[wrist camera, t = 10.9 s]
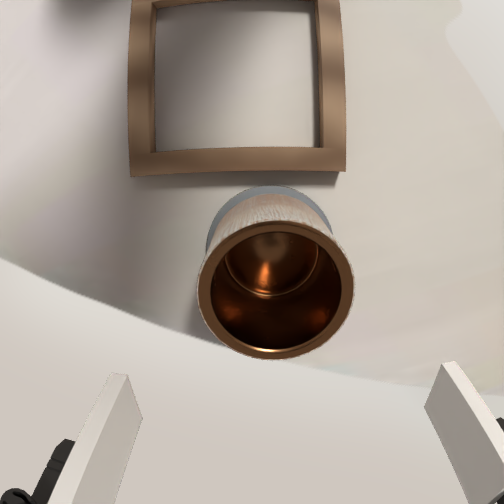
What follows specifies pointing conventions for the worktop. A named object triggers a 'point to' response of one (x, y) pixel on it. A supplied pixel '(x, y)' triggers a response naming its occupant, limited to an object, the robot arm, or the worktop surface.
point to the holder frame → (237, 158)
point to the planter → (274, 279)
